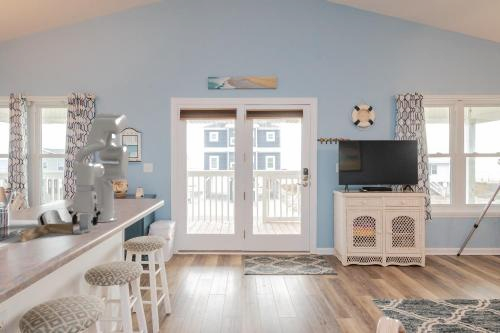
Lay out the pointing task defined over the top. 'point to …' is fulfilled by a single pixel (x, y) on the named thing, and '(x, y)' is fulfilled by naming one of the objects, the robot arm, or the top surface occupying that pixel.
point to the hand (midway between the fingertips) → (84, 224)
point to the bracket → (84, 224)
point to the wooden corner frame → (45, 231)
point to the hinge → (50, 218)
